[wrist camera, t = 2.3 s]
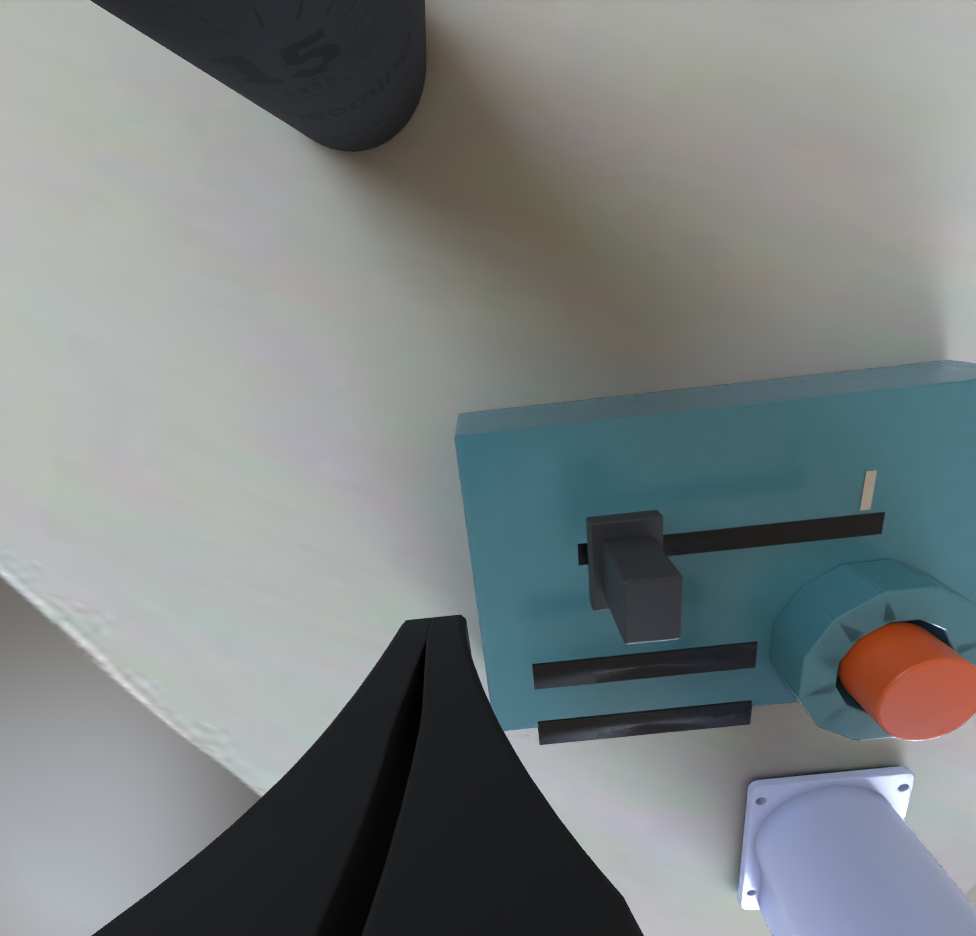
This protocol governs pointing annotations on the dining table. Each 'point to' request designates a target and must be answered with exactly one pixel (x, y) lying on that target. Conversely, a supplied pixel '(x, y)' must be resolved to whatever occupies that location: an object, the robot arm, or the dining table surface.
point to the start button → (910, 682)
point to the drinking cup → (302, 58)
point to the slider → (634, 576)
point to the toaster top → (688, 657)
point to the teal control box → (726, 504)
